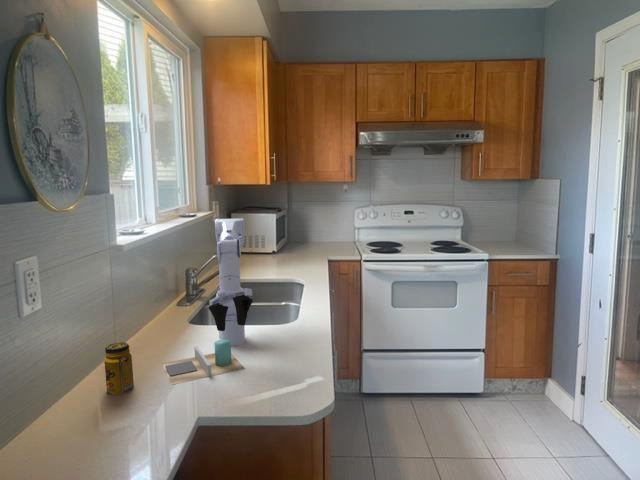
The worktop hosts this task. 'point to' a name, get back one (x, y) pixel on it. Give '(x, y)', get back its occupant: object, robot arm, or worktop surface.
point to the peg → (223, 352)
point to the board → (200, 372)
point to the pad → (181, 368)
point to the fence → (203, 361)
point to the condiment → (118, 368)
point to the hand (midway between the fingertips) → (231, 327)
